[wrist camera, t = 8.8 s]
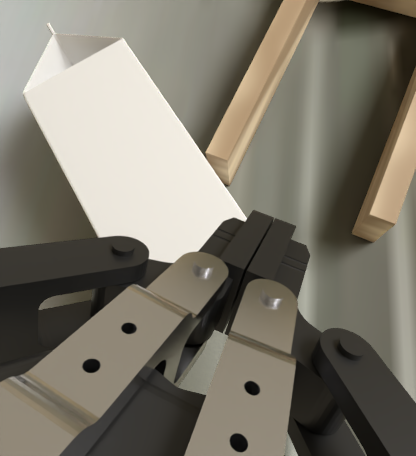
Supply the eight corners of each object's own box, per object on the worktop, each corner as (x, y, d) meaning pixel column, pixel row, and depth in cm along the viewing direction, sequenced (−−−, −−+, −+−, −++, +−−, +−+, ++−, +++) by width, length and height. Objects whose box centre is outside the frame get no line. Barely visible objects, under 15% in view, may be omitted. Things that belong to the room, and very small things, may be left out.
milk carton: (255, 263, 26) (127, 71, 32) (258, 234, 19) (95, -3, 25) (164, 320, 26) (51, 114, 31) (135, 310, 19) (-3, 49, 24)
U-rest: (210, 178, 28) (205, 152, 24) (312, -25, 33) (320, -73, 29) (373, 242, 26) (395, 224, 22) (457, 12, 31) (487, -35, 27)
